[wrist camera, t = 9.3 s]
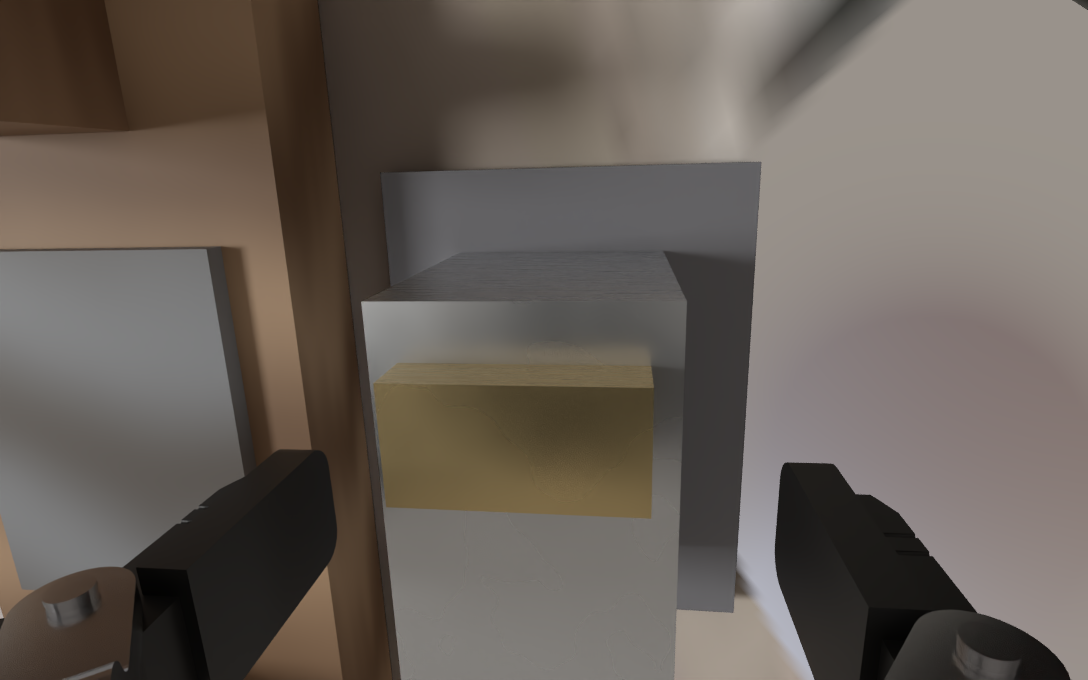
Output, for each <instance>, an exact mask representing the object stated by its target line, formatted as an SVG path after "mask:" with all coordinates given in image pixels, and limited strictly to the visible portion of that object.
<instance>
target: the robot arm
mask: <svg viewBox="0 0 1088 680" xmlns="http://www.w3.org/2000/svg"><path fill="white" fill-rule="evenodd" d="M336 542H337V521H336V514H335V507H334V500H333V493H332V485H331V478H330V471H329V464H328V460H327V457H326V455H325V454H324V452H322V451H320V450H295V449H279V450H277V451H275V452H274V453H273V454H272V455H270V456H269V457H268V458H267V459H266V460H264V461H263V462H262V463H261V464H260V465H258V466H257V467H256V468H255V469H254V470H252V471H251V472H250V473H249V474H248V475H246V476H245V477H243V478H241V479H239V480H237V481H235V482H233V483H231V484H229V485H227V486H225V487H223V488H220V489H219V490H218V491H216V492H215V493H214V494H213V495H211V496H210V497H209V498H208V499H206V500H205V501H204V502H203V503H202V504H200V505H199V508H198V509H194V510H193V511H192V512H190V513H189V514H188V515H187V516H185V517H184V518H183V519H182V520H181V524H176V525H174V526H173V527H172V528H171V529H169V530H168V531H167V532H166V533H164V534H163V535H162V536H161V537H159V538H158V539H157V540H156V541H154V542H153V543H152V544H151V545H150V546H148V547H147V548H146V549H145V550H143V551H142V552H141V553H140V554H138V555H137V556H136V557H135V558H133V559H132V560H131V561H130V562H129V563H127V564H126V565H125V566H124V567H109V566H108V567H98V568H92V569H87V570H83V571H79V572H76V573H73V574H69V575H67V576H64V577H61V578H59V579H56V580H54V581H52V582H50V583H48V584H46V585H44V586H42V587H40V588H38V589H36V590H35V591H33V592H32V593H30V594H29V595H27V596H26V597H24V598H23V599H22V600H20V601H19V602H18V603H17V604H16V605H15V606H14V607H13V608H12V609H11V610H10V611H9V612H8V614H7V615H6V617H5V618H2V619H0V680H244V678H245V677H246V675H247V674H248V673H249V671H250V670H251V669H252V667H253V666H254V665H255V663H256V662H257V660H258V659H259V658H260V656H261V655H262V654H263V652H264V651H265V650H266V648H267V647H268V645H269V644H270V643H271V641H272V640H273V639H274V637H275V636H276V635H277V633H278V632H279V631H280V629H281V628H282V626H283V625H284V624H285V622H286V621H287V620H288V618H289V617H290V616H291V614H292V613H293V611H294V610H295V609H296V607H297V606H298V605H299V603H300V602H301V601H302V599H303V598H304V596H305V595H306V594H307V592H308V591H309V590H310V588H311V587H312V586H313V584H314V583H315V581H316V580H317V579H318V577H319V576H320V575H321V573H322V572H323V571H324V569H325V568H326V566H327V565H328V564H329V562H330V560H331V558H332V556H333V554H334V550H335V547H336ZM775 563H776V571H777V577H778V581H779V585H780V588H781V591H782V593H783V596H784V599H785V601H786V604H787V607H788V609H789V612H790V615H791V617H792V620H793V623H794V625H795V628H796V631H797V634H798V636H799V639H800V642H801V644H802V647H803V650H804V652H805V655H806V658H807V660H808V663H809V666H810V668H811V671H812V674H813V676H814V679H815V680H1070V677H1069V674H1068V672H1067V670H1066V669H1065V667H1064V665H1063V664H1062V663H1061V661H1060V660H1059V659H1058V658H1057V656H1056V655H1055V654H1054V653H1052V652H1051V651H1050V650H1049V649H1048V648H1047V647H1046V646H1045V645H1043V644H1042V643H1041V642H1039V641H1038V640H1036V639H1035V638H1034V637H1032V636H1030V635H1029V634H1027V633H1026V632H1024V631H1022V630H1020V629H1018V628H1016V627H1014V626H1012V625H1010V624H1007V623H1005V622H1003V621H1001V620H998V619H995V618H992V617H989V616H986V615H982V614H978V613H977V612H976V611H975V609H974V608H973V607H972V605H971V604H970V603H969V602H968V600H967V599H966V598H965V597H964V595H963V594H962V593H961V592H960V590H959V589H958V588H957V587H956V585H955V584H954V583H953V582H952V580H951V579H950V578H949V576H948V575H947V574H946V573H945V571H944V570H943V569H942V567H941V566H940V565H939V564H938V563H937V561H936V560H935V559H934V557H932V556H929V551H928V550H927V549H926V547H925V546H924V545H923V543H922V542H921V541H920V540H919V539H918V538H915V534H914V532H913V531H912V530H911V528H910V527H909V526H908V525H907V523H906V522H905V521H904V519H903V518H902V517H901V516H900V514H899V513H898V512H896V511H894V510H893V509H891V508H890V507H888V506H887V505H885V504H884V503H882V502H881V501H879V500H878V499H876V498H875V497H873V496H871V495H858V494H855V493H854V492H853V490H852V489H851V487H850V486H849V485H848V483H847V482H846V480H845V479H844V478H843V476H842V474H841V473H840V472H839V470H838V469H837V467H836V466H835V465H834V464H825V463H822V464H820V463H784V465H783V467H782V470H781V476H780V488H779V501H778V513H777V526H776V539H775Z"/></svg>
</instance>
